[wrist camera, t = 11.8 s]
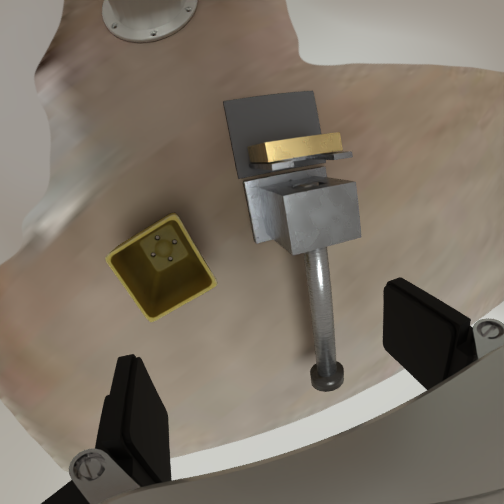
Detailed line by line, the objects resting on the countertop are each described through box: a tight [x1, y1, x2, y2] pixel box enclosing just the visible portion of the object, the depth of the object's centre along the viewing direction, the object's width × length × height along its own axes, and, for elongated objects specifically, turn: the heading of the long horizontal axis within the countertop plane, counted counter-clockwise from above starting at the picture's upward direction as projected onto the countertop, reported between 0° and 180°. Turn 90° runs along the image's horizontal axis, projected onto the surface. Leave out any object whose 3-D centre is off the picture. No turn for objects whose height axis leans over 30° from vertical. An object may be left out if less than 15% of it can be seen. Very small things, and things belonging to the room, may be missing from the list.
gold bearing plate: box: [247, 132, 343, 162], centre depth 35 cm, size 2×8×8 cm, turn 101°
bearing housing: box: [243, 167, 361, 255], centre depth 36 cm, size 8×11×11 cm
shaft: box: [293, 182, 344, 392], centre depth 38 cm, size 28×5×5 cm, turn 11°
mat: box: [223, 91, 326, 179], centre depth 38 cm, size 10×12×1 cm
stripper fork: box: [249, 152, 353, 171], centre depth 34 cm, size 1×9×10 cm, turn 101°
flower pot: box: [105, 213, 217, 322], centre depth 35 cm, size 9×9×9 cm
